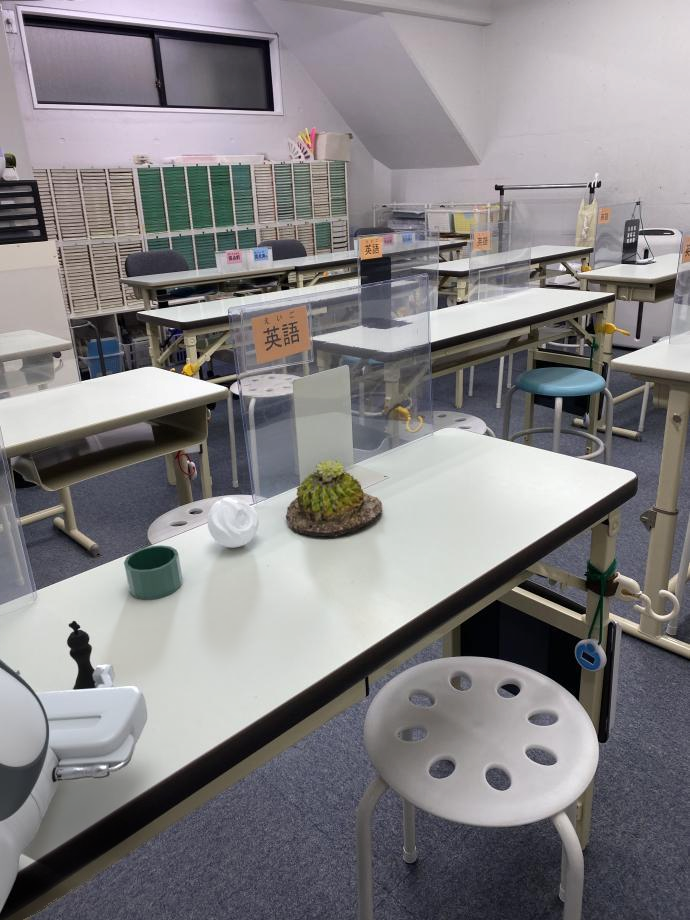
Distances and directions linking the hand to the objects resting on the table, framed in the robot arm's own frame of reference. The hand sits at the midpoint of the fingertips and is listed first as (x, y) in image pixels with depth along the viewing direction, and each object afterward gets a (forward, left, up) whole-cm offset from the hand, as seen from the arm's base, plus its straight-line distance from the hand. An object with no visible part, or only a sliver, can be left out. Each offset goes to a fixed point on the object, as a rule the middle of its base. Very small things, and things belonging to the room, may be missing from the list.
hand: (60, 672), depth 69 cm
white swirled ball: (+12, +39, -8) cm, 42 cm away
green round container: (+2, +28, -7) cm, 29 cm away
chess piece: (0, +5, -8) cm, 9 cm away
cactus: (+28, +47, -8) cm, 55 cm away
